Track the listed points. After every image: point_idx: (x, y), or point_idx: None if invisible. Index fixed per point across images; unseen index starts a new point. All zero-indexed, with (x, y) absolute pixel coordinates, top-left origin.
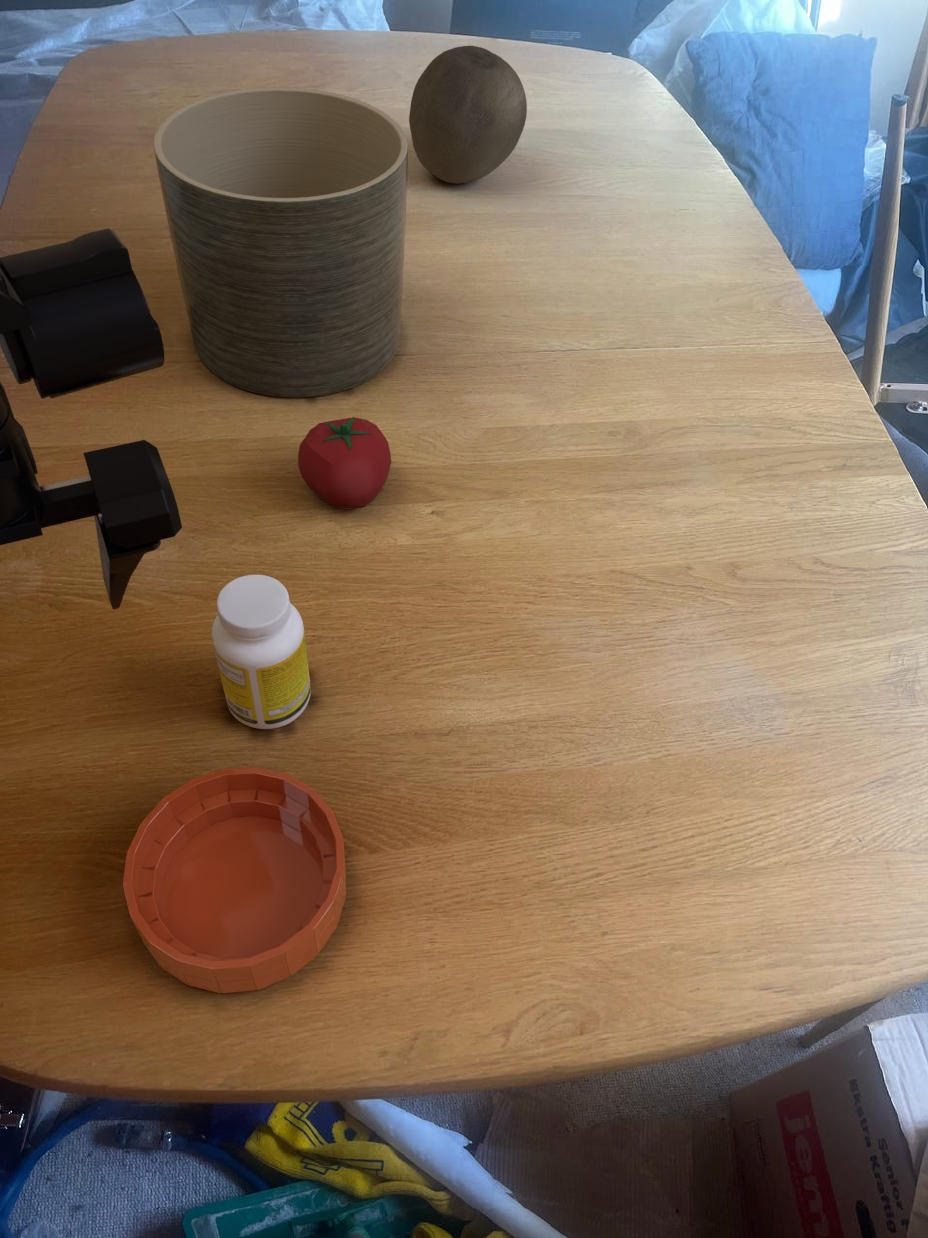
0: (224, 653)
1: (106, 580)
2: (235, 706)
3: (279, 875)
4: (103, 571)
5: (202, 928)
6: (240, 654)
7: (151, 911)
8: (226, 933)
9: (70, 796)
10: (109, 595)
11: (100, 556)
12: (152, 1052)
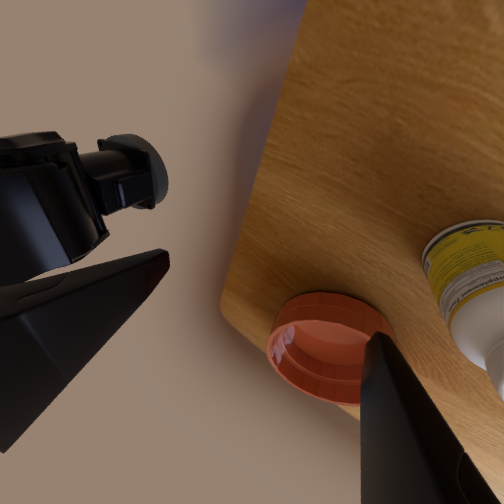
0: (456, 335)
1: (372, 432)
2: (426, 273)
3: (350, 344)
4: (387, 410)
5: (301, 334)
6: (468, 355)
7: (280, 332)
8: (309, 342)
9: (279, 229)
10: (360, 412)
11: (408, 430)
12: (261, 342)
